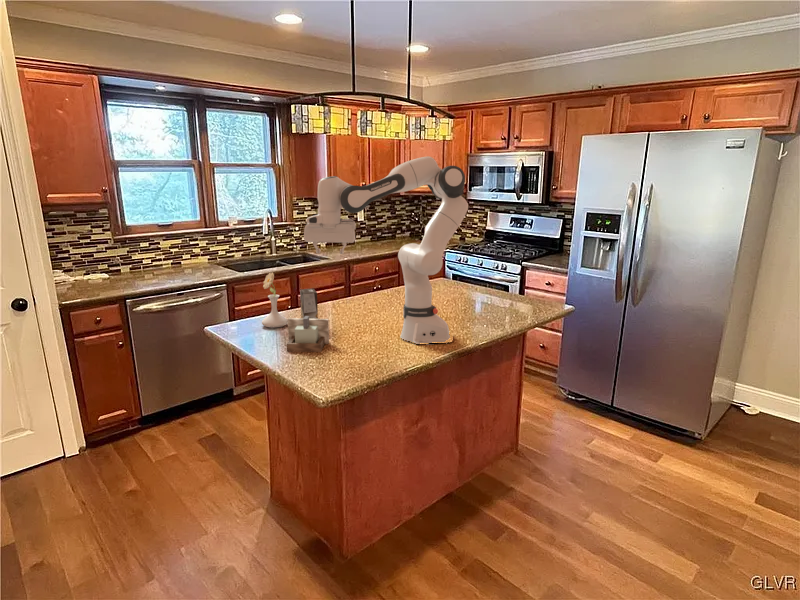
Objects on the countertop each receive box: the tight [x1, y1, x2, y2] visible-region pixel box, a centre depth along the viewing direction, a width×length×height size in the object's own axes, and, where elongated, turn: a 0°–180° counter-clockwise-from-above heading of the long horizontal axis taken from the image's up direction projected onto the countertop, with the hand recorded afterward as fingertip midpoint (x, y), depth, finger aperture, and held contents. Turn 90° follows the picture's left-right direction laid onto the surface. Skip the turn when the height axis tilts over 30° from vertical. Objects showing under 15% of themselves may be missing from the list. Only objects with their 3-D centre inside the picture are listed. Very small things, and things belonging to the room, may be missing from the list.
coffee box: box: [299, 288, 319, 319], centre depth 211 cm, size 9×6×16 cm
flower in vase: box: [261, 271, 288, 328], centre depth 208 cm, size 13×11×25 cm
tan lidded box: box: [286, 317, 330, 353], centre depth 185 cm, size 16×11×10 cm
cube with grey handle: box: [295, 316, 318, 343], centre depth 185 cm, size 8×6×12 cm
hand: (330, 253), depth 190 cm, fingers open, 8 cm apart
